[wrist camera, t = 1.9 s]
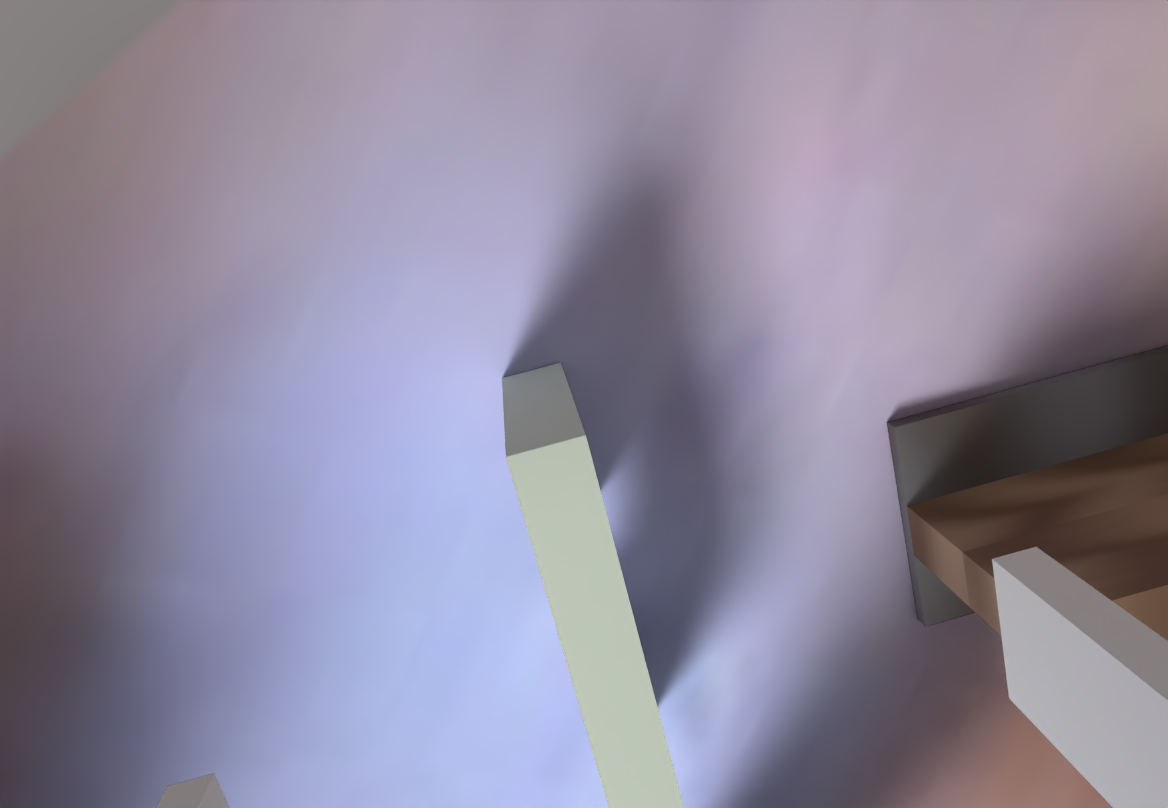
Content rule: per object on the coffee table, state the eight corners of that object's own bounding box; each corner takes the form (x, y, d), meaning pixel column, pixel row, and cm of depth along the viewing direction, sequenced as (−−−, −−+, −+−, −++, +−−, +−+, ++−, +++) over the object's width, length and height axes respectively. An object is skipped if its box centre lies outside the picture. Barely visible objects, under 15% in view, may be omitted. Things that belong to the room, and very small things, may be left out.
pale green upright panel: (653, 713, 33) (703, 881, 25) (602, 727, 33) (636, 901, 25) (560, 362, 29) (586, 434, 21) (502, 377, 29) (505, 457, 21)
